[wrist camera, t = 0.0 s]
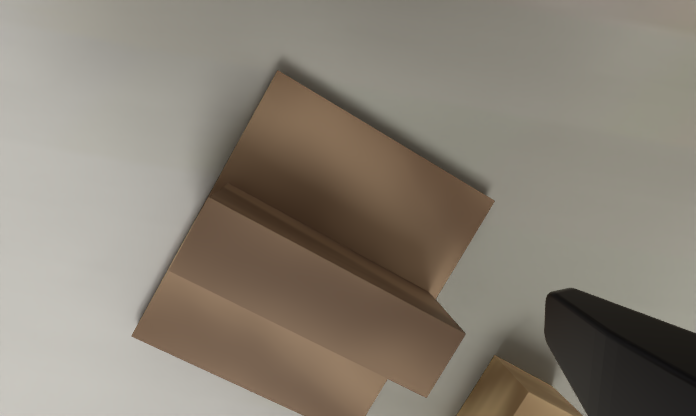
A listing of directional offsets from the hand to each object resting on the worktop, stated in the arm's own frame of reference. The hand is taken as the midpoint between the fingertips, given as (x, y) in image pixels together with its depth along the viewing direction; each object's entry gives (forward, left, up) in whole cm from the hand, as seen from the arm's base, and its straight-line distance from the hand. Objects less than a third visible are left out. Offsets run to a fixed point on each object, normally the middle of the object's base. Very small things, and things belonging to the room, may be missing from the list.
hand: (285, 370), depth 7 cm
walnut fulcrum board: (-1, -2, -15) cm, 16 cm away
